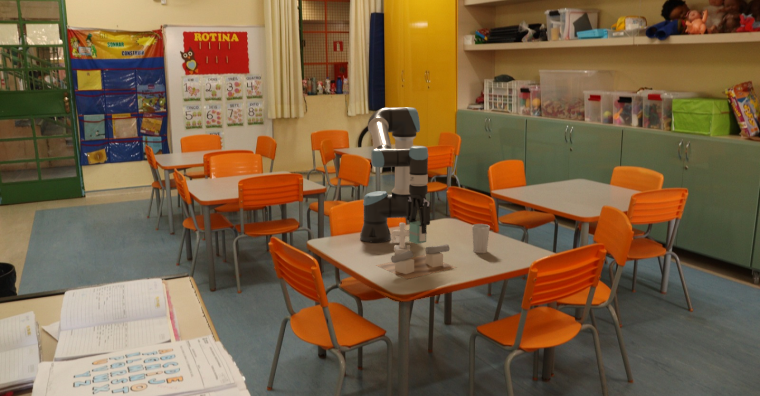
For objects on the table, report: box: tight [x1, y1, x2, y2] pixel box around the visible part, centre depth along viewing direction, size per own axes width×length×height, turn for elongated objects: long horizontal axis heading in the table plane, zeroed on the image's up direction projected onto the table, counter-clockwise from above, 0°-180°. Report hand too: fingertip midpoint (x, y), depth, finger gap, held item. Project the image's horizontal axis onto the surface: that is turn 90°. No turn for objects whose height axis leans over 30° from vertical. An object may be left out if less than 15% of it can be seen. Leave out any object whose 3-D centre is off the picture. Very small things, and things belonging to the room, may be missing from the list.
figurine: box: [391, 222, 411, 255], centre depth 280 cm, size 7×9×15 cm
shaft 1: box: [390, 250, 414, 274], centre depth 254 cm, size 10×6×8 cm, turn 135°
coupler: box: [408, 220, 428, 245], centre depth 258 cm, size 5×5×8 cm
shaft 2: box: [425, 244, 450, 267], centre depth 264 cm, size 10×6×8 cm, turn 115°
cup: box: [471, 223, 491, 254], centre depth 286 cm, size 8×8×12 cm
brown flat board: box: [375, 254, 457, 280], centre depth 262 cm, size 22×26×1 cm
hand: (417, 239), depth 259 cm, fingers closed on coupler, 5 cm apart
